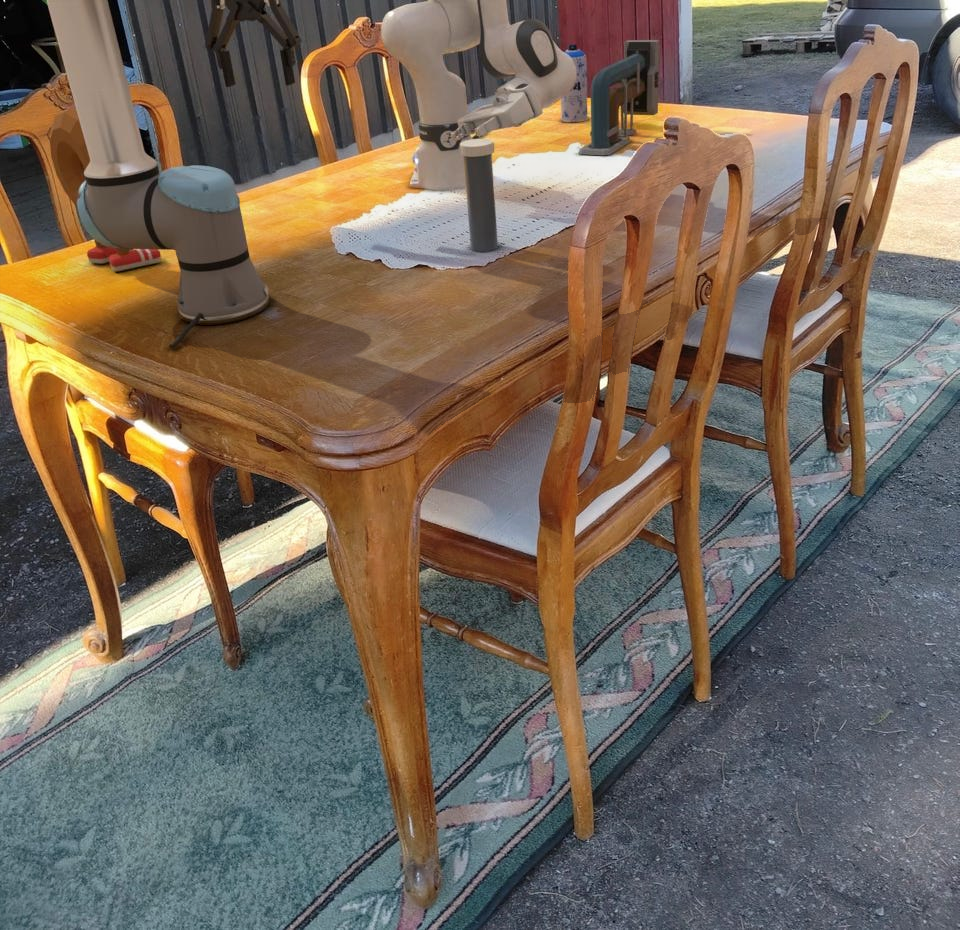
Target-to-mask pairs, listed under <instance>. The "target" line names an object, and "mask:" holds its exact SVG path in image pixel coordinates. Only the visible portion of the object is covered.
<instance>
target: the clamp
mask: <svg viewBox="0 0 960 930" xmlns="http://www.w3.org/2000/svg"><path fill="white" fill-rule="evenodd" d="M623 45H624V48H623V53H624V55H623V56H624V57H623V59H621V60H619V61H616V62H615V63H612V64H610V65H608V66H606V67H603V68H601V69H600V70H599V71H598V72H597V73H596V75H594V77H593V78H592V81H591V85H590V132H589V136H590V142H589V143H587V144H585V145H584V146H583V147H581V148H580V149H579V150H578V154H579V155H587V156H588V155H589V156H610V155H612V154H613V153H615V152H616V151H618V150H620V149H622V148H623V147H625V146H626V145H627V144H630V143H631V142H632V140H631V139H630V136H634V135H635V134H637V129H635V128H634V116H655V115H657V114H658V113H659V75H660V74H659V73H660V70H659V69H660V65H659V64H660V40H659V39H639V40H638V39H636V40H635V39H631V40H630V39H628V40H626V41H624V43H623ZM617 84H620V85H618V86H616V87H613V88H612V89H611V87H612V86H615V85H617ZM628 116H630V117H629V120H630V121H629V128H628ZM619 121H620V122H619Z"/></svg>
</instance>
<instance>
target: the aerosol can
mask: <svg viewBox="0 0 960 930" xmlns="http://www.w3.org/2000/svg"><path fill="white" fill-rule="evenodd" d="M563 52H564V53H566V54H568V55H569V56H570V57H571V58H572V60H573V62H574V64H575V67H576V71H577V78H576V82H575V84H574V86H573V88H572V89H571V90H570V91H569V92H568V93H567V94H566V95H565V96H564V97H563V98H561V99H560V113H561V115H560V116H561V117H560V121H561V122H563V123H580V122H584V121H587V120H589V116H588V63H587V55H586V54H585V52H584V51H583V50H581V49H579V48H578V44H577V43H574V44H568V48H567V49H566V50H565V51H563Z"/></svg>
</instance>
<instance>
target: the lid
mask: <svg viewBox="0 0 960 930" xmlns="http://www.w3.org/2000/svg"><path fill="white" fill-rule="evenodd" d="M460 153H461V155H462V156H466V157H479V156H486V155H489V154H492V155H493V154H494V153H495V142H494V140H493V139H490V138H477V139H471V140H466V141H463V142H461V143H460Z"/></svg>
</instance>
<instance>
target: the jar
mask: <svg viewBox="0 0 960 930" xmlns="http://www.w3.org/2000/svg"><path fill="white" fill-rule="evenodd" d="M463 157H464V169H465V181H466V187H465V194H466V203H467V206H466V207H467V216H468V218H467V219H468V228H469V240H470V241H469V243H470V249H471V251H474V252H479V253H481V252H482V253H484V252H485V253H487V252H491V251H494V250H496V249H498V247H499V243H498V230H497V229H498V227H497V215H496V197H495V181H494V167H493V153H492V154H489V155H486V156H479V157H466V156H463Z"/></svg>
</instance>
